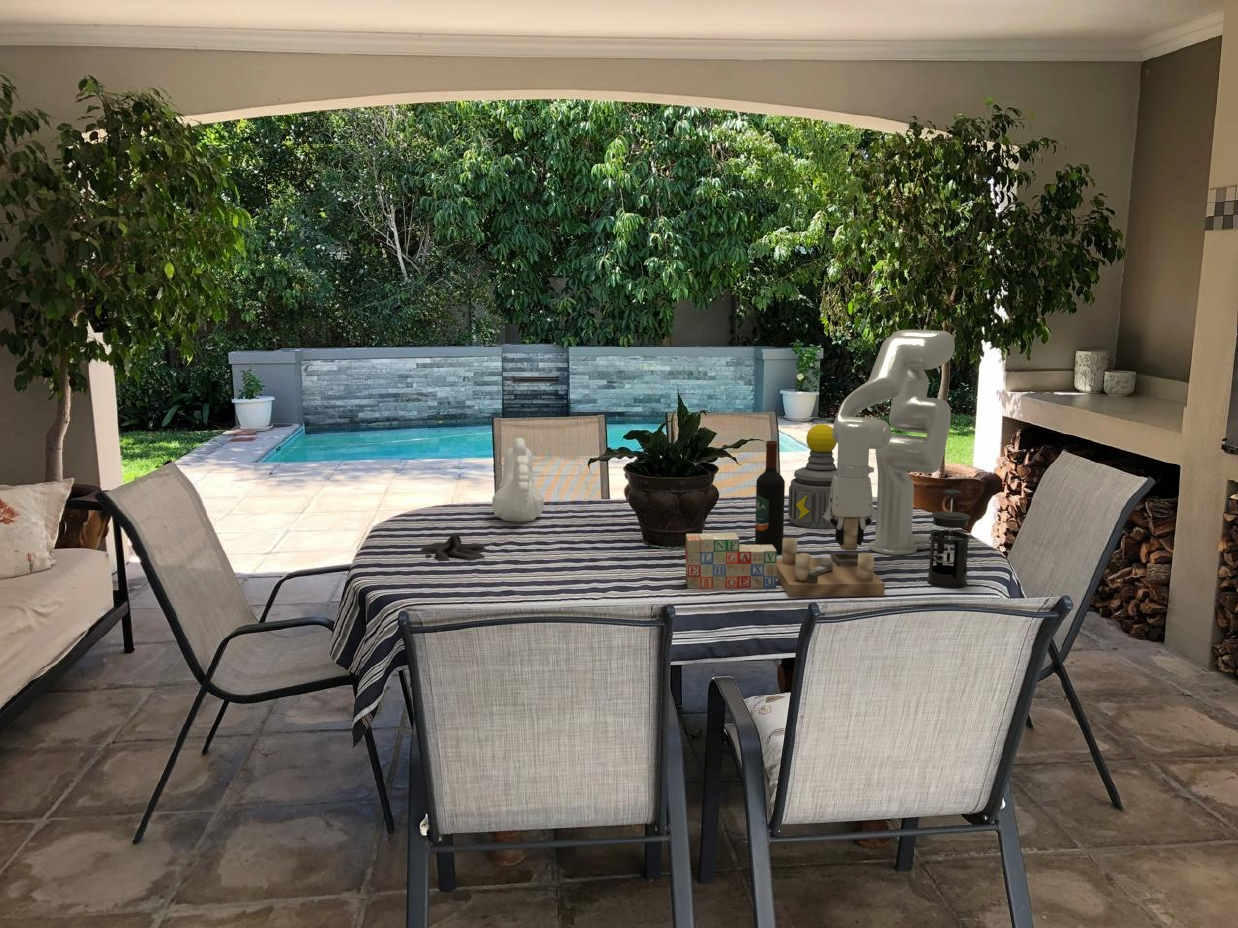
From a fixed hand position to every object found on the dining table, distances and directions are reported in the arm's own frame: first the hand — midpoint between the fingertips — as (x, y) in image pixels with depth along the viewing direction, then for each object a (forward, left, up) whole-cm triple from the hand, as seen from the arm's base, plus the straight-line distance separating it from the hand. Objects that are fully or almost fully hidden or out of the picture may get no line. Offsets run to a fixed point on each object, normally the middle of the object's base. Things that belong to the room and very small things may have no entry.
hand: (849, 543), depth 264 cm
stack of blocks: (+31, +8, -8) cm, 33 cm away
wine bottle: (+16, -23, -8) cm, 29 cm away
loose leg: (0, 0, -1) cm, 1 cm away
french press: (-22, +9, -8) cm, 25 cm away
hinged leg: (+11, +11, -5) cm, 16 cm away
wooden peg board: (+7, +7, -8) cm, 13 cm away
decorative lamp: (-5, -55, -8) cm, 56 cm away
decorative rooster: (+86, -59, -8) cm, 104 cm away
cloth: (+101, -23, -9) cm, 104 cm away
